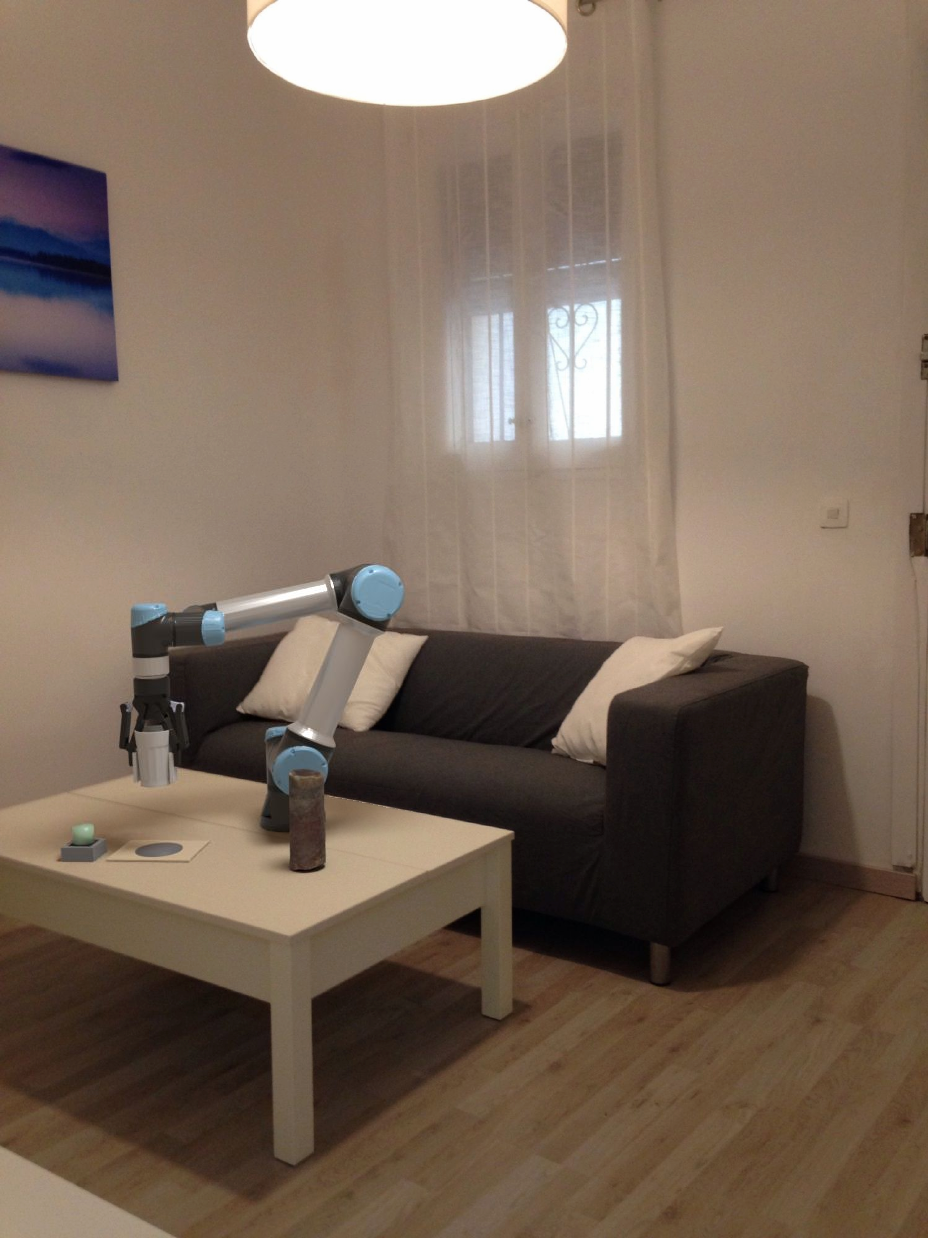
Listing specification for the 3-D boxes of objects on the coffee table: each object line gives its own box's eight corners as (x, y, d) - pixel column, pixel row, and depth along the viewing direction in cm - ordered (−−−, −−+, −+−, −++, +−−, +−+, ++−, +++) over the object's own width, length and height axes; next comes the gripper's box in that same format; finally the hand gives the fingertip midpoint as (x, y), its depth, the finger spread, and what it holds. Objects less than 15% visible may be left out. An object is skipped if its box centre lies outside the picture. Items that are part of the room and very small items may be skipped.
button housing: (106, 851, 243) (106, 838, 242) (93, 862, 236) (92, 848, 235) (75, 851, 243) (75, 838, 243) (61, 861, 236) (60, 847, 236)
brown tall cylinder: (310, 859, 235) (307, 765, 233) (334, 865, 231) (331, 770, 229) (282, 868, 229) (279, 772, 227) (306, 875, 225) (303, 777, 223)
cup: (164, 789, 236) (162, 733, 235) (129, 788, 237) (127, 732, 236) (181, 780, 244) (179, 726, 242) (147, 779, 245) (145, 725, 244)
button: (97, 839, 241) (97, 823, 241) (89, 845, 237) (88, 829, 236) (78, 839, 241) (77, 823, 241) (69, 845, 237) (68, 829, 237)
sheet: (209, 842, 248) (209, 840, 248) (188, 862, 234) (188, 860, 234) (131, 841, 250) (131, 839, 250) (105, 861, 236) (105, 859, 236)
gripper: (203, 673, 241) (207, 777, 243) (112, 673, 243) (117, 776, 245) (191, 678, 234) (195, 785, 236) (98, 678, 235) (103, 785, 238)
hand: (155, 781), depth 240 cm, fingers closed on cup, 7 cm apart
